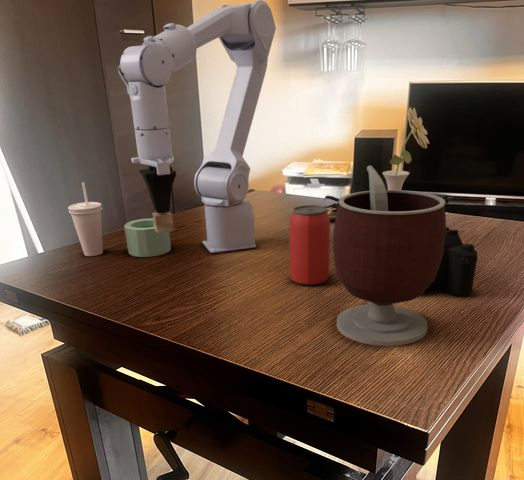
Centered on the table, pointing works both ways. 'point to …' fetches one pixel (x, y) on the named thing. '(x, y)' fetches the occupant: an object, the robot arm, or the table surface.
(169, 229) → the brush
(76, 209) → the smoothie
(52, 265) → the table surface
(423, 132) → the flower in vase
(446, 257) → the film camera
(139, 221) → the pale green hollow ring
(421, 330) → the mate gourd
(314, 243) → the beer can
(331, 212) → the toy figure
